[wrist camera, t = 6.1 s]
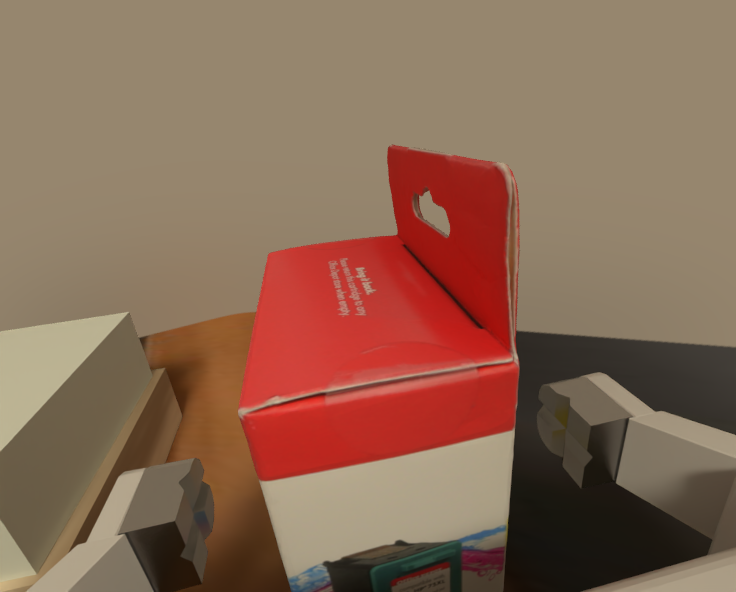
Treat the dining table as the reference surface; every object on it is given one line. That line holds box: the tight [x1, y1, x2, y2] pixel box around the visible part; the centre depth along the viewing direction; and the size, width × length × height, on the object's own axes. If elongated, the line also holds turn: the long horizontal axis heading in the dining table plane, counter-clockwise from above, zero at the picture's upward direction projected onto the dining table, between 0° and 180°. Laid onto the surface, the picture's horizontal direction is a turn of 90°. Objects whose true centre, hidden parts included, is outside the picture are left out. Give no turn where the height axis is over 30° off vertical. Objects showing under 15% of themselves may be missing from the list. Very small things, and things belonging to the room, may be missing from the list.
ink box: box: [238, 144, 520, 592], centre depth 12 cm, size 8×5×15 cm, turn 10°
